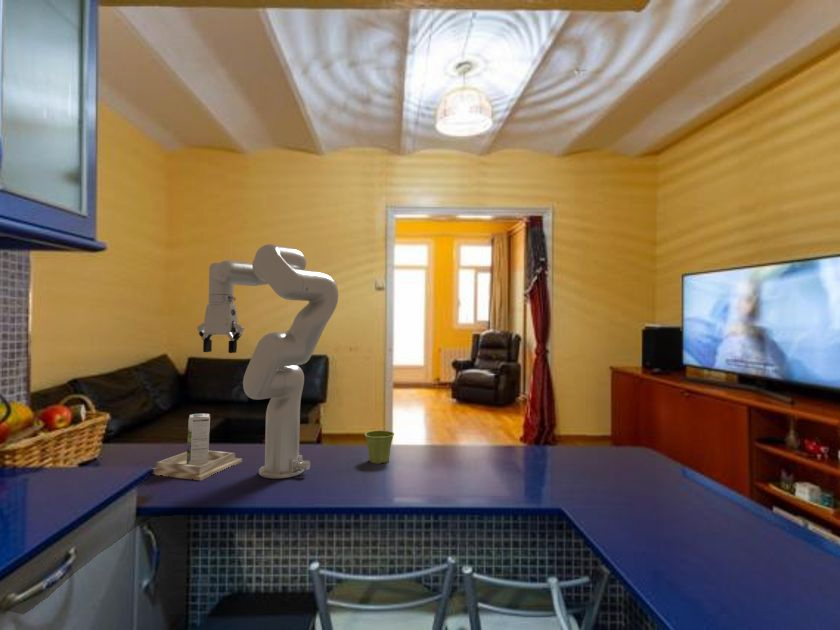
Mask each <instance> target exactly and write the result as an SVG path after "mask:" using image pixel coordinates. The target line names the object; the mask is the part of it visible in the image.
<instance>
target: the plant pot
mask: <svg viewBox="0 0 840 630" xmlns="http://www.w3.org/2000/svg"><path fill="white" fill-rule="evenodd" d="M394 435H395V432H393V431H389V430H370V431H367V432H365V433H364V436H365V439H366V443H367V450H368V451H367V452H368V459H369V462H370V463H373V464H381V463H385V464H386V463H388V462H389V460H390V454H391V447H392V441H393V438H394Z"/></svg>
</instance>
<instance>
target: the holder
mask: <svg viewBox="0 0 840 630" xmlns="http://www.w3.org/2000/svg"><path fill="white" fill-rule="evenodd" d="M242 462H243V458H241V457H240V458H239V457H236V453H235V452H229V451H218V450H209V452H208V463H206V464H203V465H201V466H196V465H187V451H185V452H182V453H179V454H176V455H172V456H169V457H167V458H164V459H162V460H159V461H156V462H155V467H153V468H152V469H154V474H155V475H154V476H160V475H163V476H162V477H168V476H169V478H175V479H185V480H192V479H193V480H194V481H204V480H205V479H207V478H210V477H211V475H212V476H214V475H216V474H218V473H221V472H223V471H224V469H225V470H227V469H229V468H232V467H233V465H234V466H237V465H238V464H241V463H242ZM231 466H232V467H231ZM228 467H229V468H228ZM226 468H227V469H226ZM222 470H223V471H222ZM220 471H221V472H220ZM217 472H218V473H217ZM215 473H216V474H215ZM213 474H214V475H213Z"/></svg>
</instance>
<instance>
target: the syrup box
mask: <svg viewBox="0 0 840 630" xmlns="http://www.w3.org/2000/svg"><path fill="white" fill-rule="evenodd" d="M210 423H211V414H210V413H194V414H193V413H192V414H189V417H188V423H187V424H188V427H187V442H186V443H187V447H186V452H187V465H196V466H201V465H203V464H206V463H208V452H209V447H210V428H211V427H210Z"/></svg>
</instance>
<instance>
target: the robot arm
mask: <svg viewBox="0 0 840 630" xmlns="http://www.w3.org/2000/svg"><path fill="white" fill-rule="evenodd" d="M255 252H256V253H255V255H254V258H253V260H252V263H251V262H245V261H240V260H239V261H238V260H231V259H229V260H228V259H227V260H222V261H220V262H213V263H210V264H209V269H208V304H206V308H205V313H204V322H202V323H201V324H200V325H198V326H197V327H196V329H197V331H198V335H199V336H200V337H201V340H202V341H203V343H202V348H203V349H202V351H203V353H211V352H212V347H213V346H212V345H213V344H212V343H213V341H212V337H213V336H214V335H215V336H216V335H220V336H221V335H222V336H226V335H227V337H228V338H229V340H228V351H227V352H228V353H229V354H234V353H235V354H236V353H237V349H238V348H237V347H238V346H237V345H238V344H237V343H238V341H239V340H240V338H241V336H243V332H244V330H245V327H244V326H242V325H241V324H240V323H239V322H238V319H239V318H238V312H237V307H236V305H235V304H234V302H235V301H236V300H237V299H236V296H234V288H235V287H234V285H236V286H237V285H238V286H239V285H240V286H248V287H249V286H250V287H257V286H264V285H269V286H270V288H271V289H272V290H273V291H274V293H276V295H277V296H279V297H280V298H282V299H285V300H287V301H303V302H304V301H306V302H308V304H306V305H305V306H304V307H303V308H302V309H301V310H300V311H299V312H298V313H297V314H296V315H295V317H294V319H293V322H292V324H291V326H290V328H289V329H288V330H286V331H274V332H269V333H267V334H265V335H264V336H262V337H261V338H260V339H259V341H258V343H257V344H256V346H255V348H254V351H253V354H252V355H251V358H250V360H249V363H248V365H247V368H246V370H245V372H244V375H243V380H242V387H243V391H244V393H245V395H246V396H247V397H248V398H250V399H252V400H266V399H267V400H268V399H270V400H269V402H268V404H267V407H266V411H265V435H264V436H265V437H264V438H265V443H264V444H265V445H264V446H265V447H264V465H262V466H261V467H260V468H259V469H258V475H260V476H261V477H263V478H267V479H287V478H288V479H289V478H292V477H296V476H299V475H301V474H302V473H304V471H305V470H307V471H308V470H310V469H311V460H304V459H303V454H300V427H301V426H300V422H301V419H300V418H301V402H302V401H301V399H302V394H303V390H304V384H305V374H304V371H303V369H302V368H301V367H300V366H301V365H304V364H306V363H308V361H309V360H310V359H311V357H312V356H313V353H314V351H315V349H316V347H317V345H318V342H319V341H320V339H321V336H322V334H323V331H324V330H325V327H326V325H327V324H328V322H329V321H330V319H331V318H332V317H333V314H334V313H335V310H336V308H337V305H338V301H339V289H338V286H337V283H336V281H335V280H334V279H333V278H332V276H330V275H329V274H326V273H324V272H320V271H315V270H308V269H306V265H307V260H306V257H305V255H304V254H303V253H302V252H301V251H300V250H298V249H296V248H294V247H288V246H284V245H278V244H269V243H268V244H263V245H262V246H260V247H259V248H258V249H257V251H255Z"/></svg>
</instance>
